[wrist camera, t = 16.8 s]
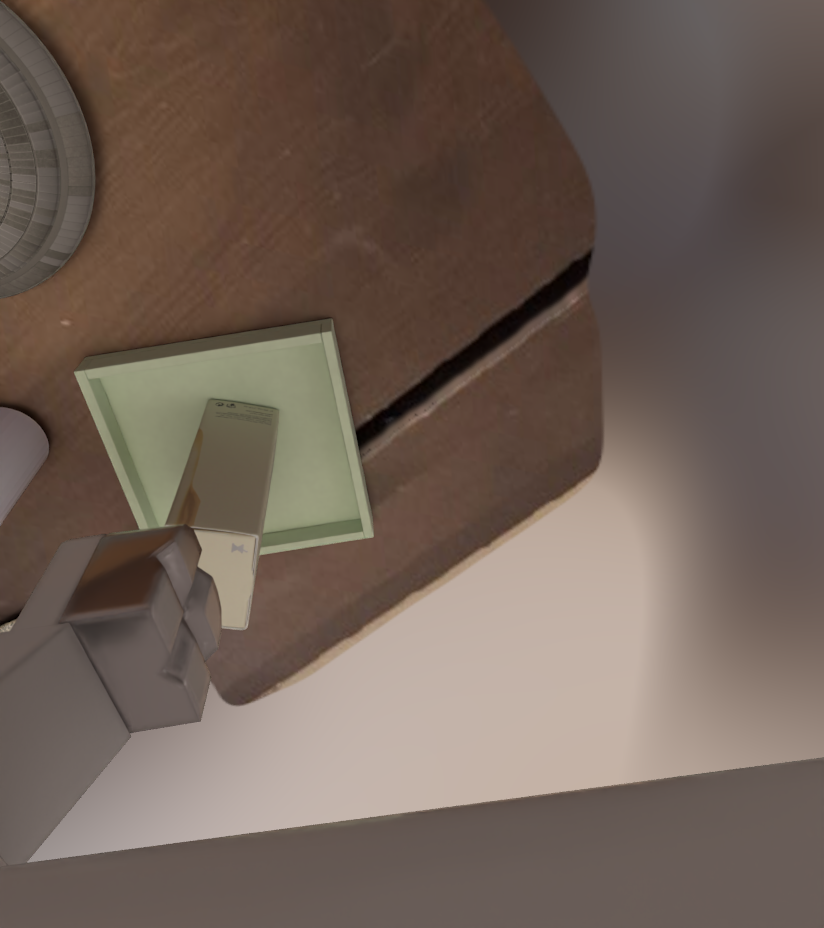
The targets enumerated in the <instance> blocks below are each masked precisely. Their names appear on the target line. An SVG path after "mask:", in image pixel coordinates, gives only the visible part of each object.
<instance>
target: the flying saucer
mask: <svg viewBox="0 0 824 928" xmlns="http://www.w3.org/2000/svg"><path fill="white" fill-rule="evenodd" d="M94 194H95V165H94V156H93V149H92V144H91V139H90V135H89V131H88V128H87V124H86V121H85V118H84V115H83V113H82V110H81V108H80V105H79V103H78V100H77V98H76V96H75V94H74V92H73V90H72V88H71V86H70V84H69V82H68V80H67V78H66V77H65V75H64V73H63V72H62V70H61V68H60V67H59V65H58V64H57V62H56V61H55V59H54V58H53V56H52V55H51V54H50V52H49V51H48V50H47V48H46V47H45V46H44V44H43V43H42V42H41V41H40V39H39V38H38V37H37V36H36V35H35V33H34V32H33V31H32V30H31V29H30V28H29V27H28V26H27V25H26V24H25V23H24V22H23V21H22V20H21V19H20V18H19V17H18V16H17V15H16V14H15V13H14V12H13V11H12V10H11V9H10V8H9V7H7V6H6V5H5V4H4V3H3V2H1V1H0V299H1V298H5V297H9V296H13V295H16V294H19V293H22V292H24V291H27V290H29V289H31V288H33V287H35V286H37V285H39V284H40V283H42V282H44V281H45V280H47V279H48V278H49V277H51V276H52V275H53V274H55V273H56V272H57V271H58V270H59V269H60V268H61V267H62V266H63V265H64V264H65V263H66V262H67V261H68V259H69V258H70V257H71V256H72V254H73V253H74V251H75V250H76V248H77V247H78V245H79V243H80V241H81V240H82V238H83V235H84V233H85V231H86V228H87V225H88V223H89V220H90V216H91V212H92V207H93V202H94Z"/></svg>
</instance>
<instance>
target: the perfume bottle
mask: <svg viewBox="0 0 824 928" xmlns="http://www.w3.org/2000/svg"><path fill="white" fill-rule="evenodd" d="M48 453H49V444H48V439H47V437H46V435H45V433H44V431H43V430H42V428H41V427H40V426H39V425H38V424H37V423H36V422H35V421H34V420H33V419H32V418H30V417H29V416H27V415H25V414H24V413H22V412H19V411H17V410H14V409H10V408H5V407H0V526H1V524H2V523H3V521H4V520H5V518H6V517H7V516H8V514H9V513H10V511H11V510H12V508H13V507H14V506H15V504H16V503H17V501H18V500H19V498H20V497H21V495H22V494H23V493H24V491H25V490H26V488H27V487H28V485H29V484H30V483H31V481H32V480H33V478H34V477H35V475H36V474H37V472H38V471H39V470H40V468H41V467H42V465H43V464H44V462H45V461H46V459H47V457H48Z"/></svg>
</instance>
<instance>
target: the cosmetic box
mask: <svg viewBox="0 0 824 928" xmlns="http://www.w3.org/2000/svg"><path fill="white" fill-rule="evenodd" d="M278 423H279V410H277V409H271V408H266V407H260V406H255V405H249V404H242V403H236V402H229V401H220V400H208V402H207V405H206V408H205V410H204V413H203V416H202V419H201V422H200V425H199V428H198V431H197V434H196V437H195V440H194V443H193V446H192V448H191V451H190V454H189V457H188V460H187V463H186V466H185V469H184V472H183V475H182V478H181V481H180V484H179V486H178V489H177V492H176V495H175V498H174V501H173V503H172V506H171V509H170V512H169V515H168V518H167V520H166V523H165V525H164V526H172V525H180V524H187V525H188V526H190V527H191V528H193V529H194V531H195V534H196V536H197V538H198V541H199V543H200V546H201V548H202V552H201V556H200V559H199V563H198V567H199V568H201V569H202V570H204V571H205V572H207V573H208V574H209V575H211V576H212V577H213V579H214V582H215V585H216V587H217V590H218V594H219V599H220V604H221V609H222V628H227V629H236V630H244V629H246V628H247V627H248V622H249V616H250V610H251V603H252V597H253V591H254V585H255V579H256V572H257V566H258V560H259V554H260V548H261V541H262V535H263V529H264V523H265V516H266V510H267V504H268V498H269V491H270V485H271V478H272V473H273V465H274V459H275V451H276V443H277V434H278Z"/></svg>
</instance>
